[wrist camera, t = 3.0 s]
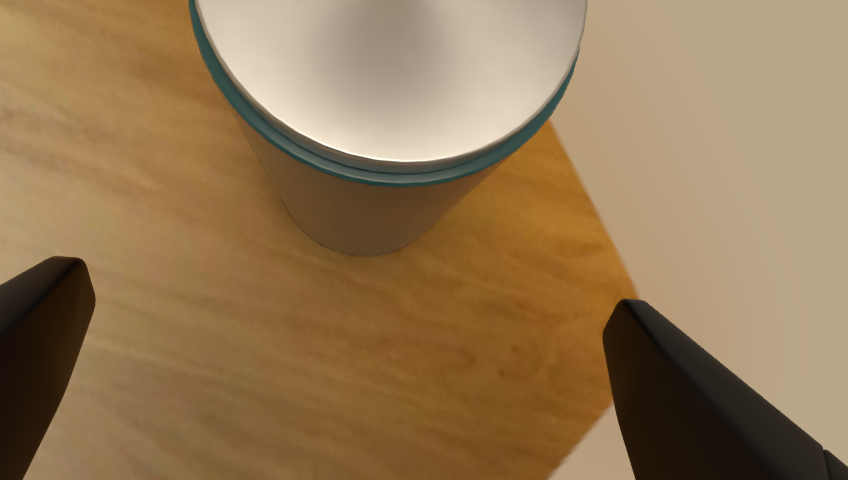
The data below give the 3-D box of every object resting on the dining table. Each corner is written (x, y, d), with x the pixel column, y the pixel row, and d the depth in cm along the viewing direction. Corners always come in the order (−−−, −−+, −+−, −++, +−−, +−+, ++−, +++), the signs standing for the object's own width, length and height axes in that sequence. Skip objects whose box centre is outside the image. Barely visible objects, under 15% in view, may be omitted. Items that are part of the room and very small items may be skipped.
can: (478, 203, 22) (673, 57, 9) (333, 288, 20) (320, 260, 8) (393, 63, 22) (468, -277, 9) (245, 139, 21) (89, -133, 8)
